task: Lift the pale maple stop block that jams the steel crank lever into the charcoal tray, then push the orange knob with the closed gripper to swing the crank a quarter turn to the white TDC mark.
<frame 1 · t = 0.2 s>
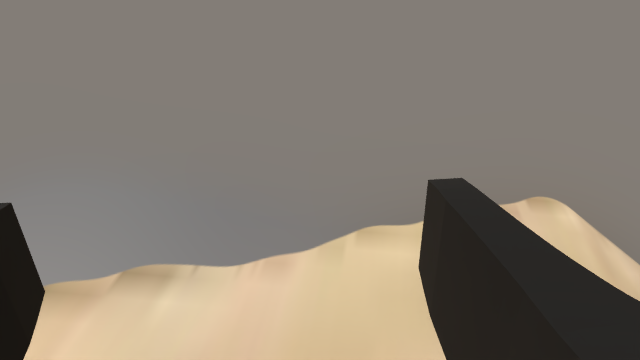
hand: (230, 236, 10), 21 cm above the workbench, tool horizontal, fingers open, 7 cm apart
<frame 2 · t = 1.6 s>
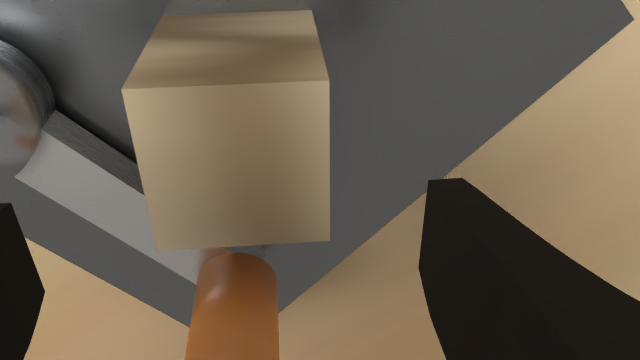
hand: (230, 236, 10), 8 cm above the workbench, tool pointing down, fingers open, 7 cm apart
crank base: (219, 45, 17), on the workbench
stop block: (244, 82, 16), point 1 cm above the workbench, touching crank base
crank: (98, 234, 15), point 4 cm above the workbench, hinge at 0.0°
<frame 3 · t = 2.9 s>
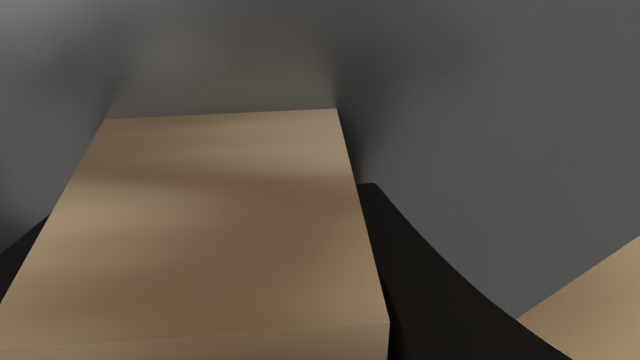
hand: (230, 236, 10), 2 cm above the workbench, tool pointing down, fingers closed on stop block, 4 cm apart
crank base: (197, 147, 11), on the workbench
stop block: (232, 207, 11), point 1 cm above the workbench, touching crank base, gripper
when the fingers open (4 cm above the workbench, at t = 6.9 s): stop block drops 2 cm, resting on tray.
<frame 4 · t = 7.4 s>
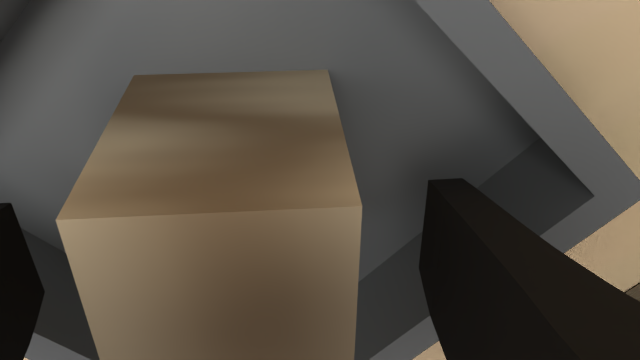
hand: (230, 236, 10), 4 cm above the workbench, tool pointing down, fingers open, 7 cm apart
stop block: (239, 155, 13), resting on tray
tray: (238, 141, 13), on the workbench
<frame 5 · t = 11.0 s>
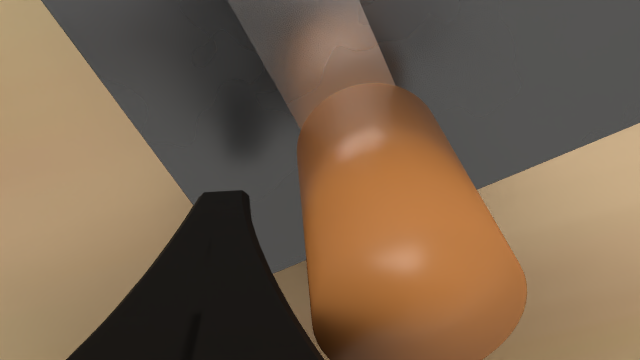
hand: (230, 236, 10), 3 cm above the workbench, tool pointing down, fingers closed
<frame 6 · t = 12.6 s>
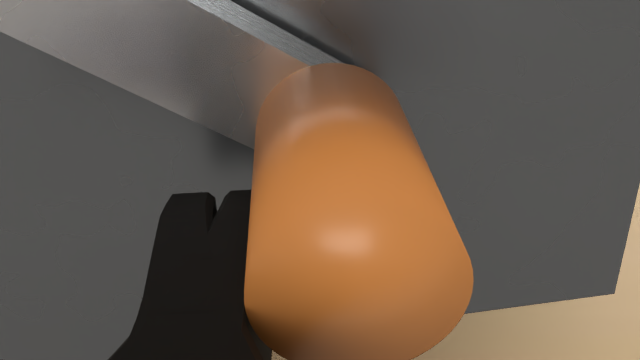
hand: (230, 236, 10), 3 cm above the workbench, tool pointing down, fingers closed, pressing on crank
crank base: (206, 23, 11), on the workbench
crank: (17, 24, 7), point 4 cm above the workbench, hinge at 52.8°, touching gripper
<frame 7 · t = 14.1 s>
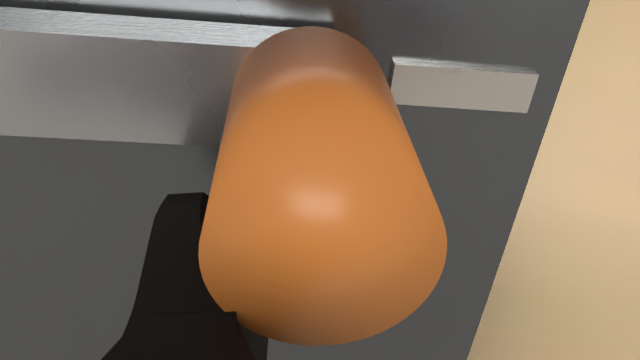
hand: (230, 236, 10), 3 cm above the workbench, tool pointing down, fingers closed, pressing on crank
crank base: (125, 202, 13), on the workbench
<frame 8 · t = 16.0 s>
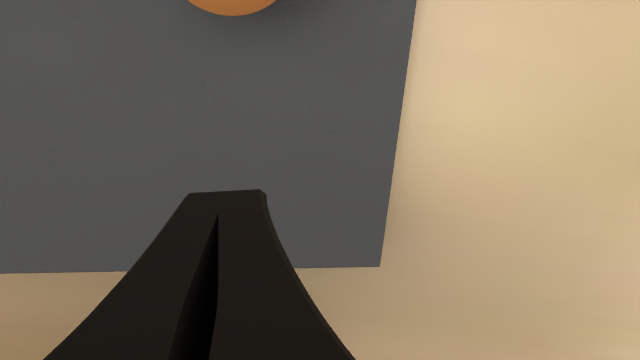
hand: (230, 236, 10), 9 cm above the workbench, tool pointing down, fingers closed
crank base: (118, 53, 17), on the workbench
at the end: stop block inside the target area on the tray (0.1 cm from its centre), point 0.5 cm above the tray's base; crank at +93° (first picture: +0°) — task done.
